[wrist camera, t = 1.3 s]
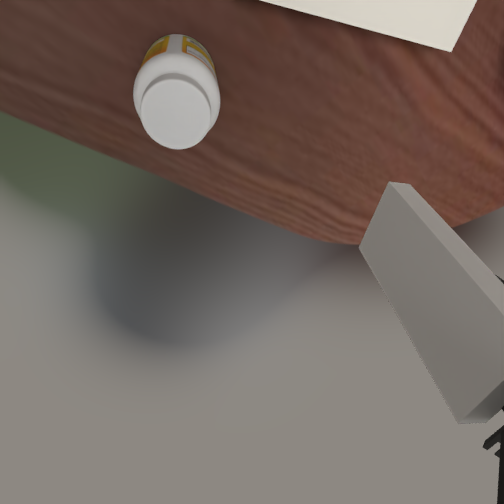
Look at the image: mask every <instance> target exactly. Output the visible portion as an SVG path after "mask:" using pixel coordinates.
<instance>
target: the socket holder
mask: <svg viewBox="0 0 504 504" xmlns="http://www.w3.org/2000/svg"><path fill="white" fill-rule="evenodd" d="M261 1H264V2H268V3H272V4H275V5H279V6H283V7H286V8H290V9H294V10H297V11H301V12H305V13H309V14H312V15H316V16H320V17H323V18H327V19H331V20H334V21H338V22H342V23H345V24H349V25H353V26H356V27H360V28H364V29H368V30H371V31H375V32H379V33H382V34H386V35H390V36H393V37H397V38H401V39H404V40H408V41H412V42H416V43H419V44H423V45H427V46H430V47H434V48H438V49H441V50H445V51H449V52H451V51H452V49H453V47H454V45H455V43H456V41H457V39H458V37H459V35H460V33H461V31H462V29H463V27H464V25H465V23H466V21H467V19H468V17H469V15H470V13H471V11H472V9H473V7H474V5H475V3H476V1H477V0H261Z"/></svg>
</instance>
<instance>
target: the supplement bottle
mask: <svg viewBox="0 0 504 504" xmlns="http://www.w3.org/2000/svg"><path fill="white" fill-rule="evenodd" d="M133 98H134V104H135V108H136V111H137V113H138V115H139V117H140V119H141V121H142V124H143V126H144V128H145V130H146V132H147V133H148V134H149V136H150V137H151V138H152V139H153V140H155V141H156V142H157V143H159V144H161V145H162V146H165V147H168V148H171V149H185V148H189V147H192V146H194V145H196V144H197V143H199V142H200V141H201V140H202V139H203V138H204V137H205V135H206V134H207V132H208V131H209V130H210V129H211V128H212V127H213V125H214V124H215V122H216V120H217V117H218V114H219V110H220V92H219V87H218V82H217V77H216V72H215V68H214V64H213V62H212V59H211V57H210V55H209V53H208V52H207V50H206V49H205V48H204V47H203V46H202V45H201V44H200V43H199V42H198V41H196V40H195V39H193V38H191V37H188V36H186V35H181V34H171V35H167V36H164V37H162V38H160V39H158V40H157V41H156V42H155V43H153V44H152V46H151V47H150V48H149V50H148V51H147V53H146V55H145V57H144V60H143V63H142V65H141V67H140V69H139V71H138V74H137V76H136V79H135V83H134V89H133Z"/></svg>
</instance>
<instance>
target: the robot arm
mask: <svg viewBox="0 0 504 504" xmlns="http://www.w3.org/2000/svg"><path fill="white" fill-rule="evenodd" d="M359 249H360V251H361V253H362V254H363V256H364V258H365V260H366V262H367V263H368V265H369V267H370V269H371V271H372V272H373V274H374V276H375V277H376V279H377V281H378V283H379V285H380V286H381V288H382V290H383V292H384V293H385V295H386V297H387V299H388V301H389V302H390V304H391V306H392V308H393V309H394V311H395V313H396V315H397V317H398V318H399V320H400V322H401V324H402V325H403V327H404V329H405V331H406V333H407V334H408V336H409V338H410V340H411V341H412V343H413V345H414V347H415V348H416V350H417V352H418V354H419V356H420V357H421V359H422V361H423V363H424V364H425V366H426V368H427V370H428V372H429V373H430V375H431V377H432V378H433V380H434V382H435V384H436V386H437V387H438V389H439V391H440V393H441V395H442V396H443V398H444V400H445V402H446V403H447V405H448V407H449V409H450V411H451V412H452V414H453V416H454V418H455V419H456V421H457V423H458V424H468V423H469V424H470V423H486V422H487V421H488V420H490V419H491V418H492V417H493V416H494V415H495V414H496V413H498V412H499V411H500V410H501V409H502V410H503V411H504V280H502V279H501V278H499V277H498V276H497V275H495V274H494V273H493V272H492V271H491V270H490V269H489V268H488V267H487V266H486V265H485V264H484V263H483V262H482V261H481V259H479V258H478V256H477V255H475V253H474V252H473V251H472V250H471V249H470V248H469V247H468V246H467V245H466V244H465V242H464V241H462V239H461V238H460V237H459V236H458V235H457V234H456V233H455V232H454V231H453V230H452V229H451V228H450V226H449V225H448V224H447V223H446V222H445V221H444V220H443V219H442V218H441V217H440V216H439V215H438V214H437V213H436V212H435V211H434V209H433V208H432V207H431V206H430V205H429V204H428V203H427V202H426V201H425V200H424V199H423V198H422V197H421V196H420V195H419V194H418V192H417V191H416V190H415V189H414V188H413V187H412V186H411V185H410V184H405V183H396V182H388V185H387V187H386V189H385V191H384V193H383V196H382V198H381V200H380V202H379V204H378V207H377V209H376V211H375V213H374V215H373V218H372V220H371V222H370V224H369V226H368V229H367V231H366V233H365V235H364V237H363V240H362V242H361V244H360V246H359ZM497 442H500V443H501V445H500V449H499V450H498V451H497V452H496V453H495V455H496V456H498V457H499V458H500V462H499V481H498V497H497V504H504V425H503V426H502V427H501V428H500V429H499V430H497V431H496V432H495V433H494V434H493V435H491V436H490V437H489V438H488V439H487V440H485V443H484V445H483V448H485V449H487V450H488V449H489V448H491V447H492V446H493V445H494V444H496V443H497Z"/></svg>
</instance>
